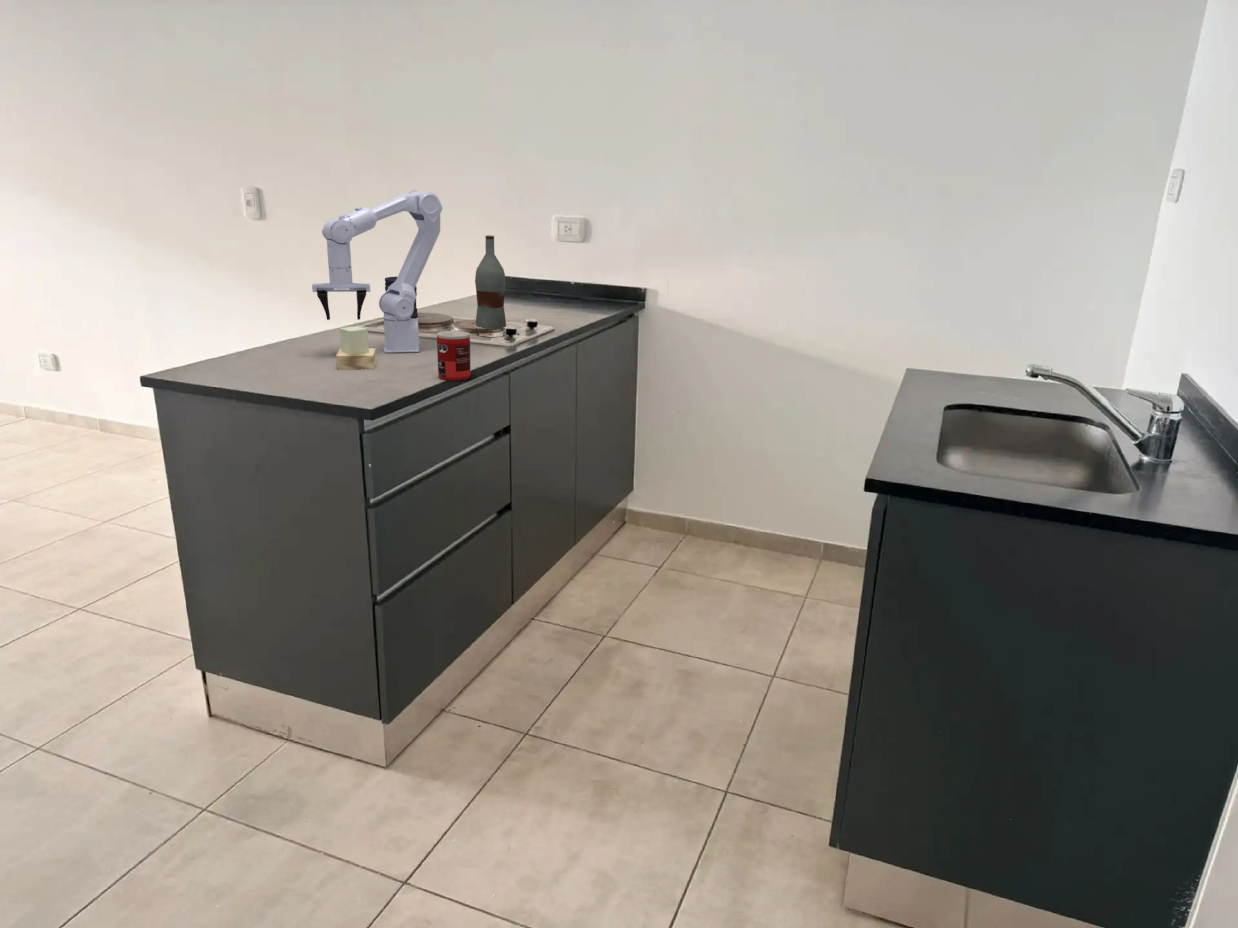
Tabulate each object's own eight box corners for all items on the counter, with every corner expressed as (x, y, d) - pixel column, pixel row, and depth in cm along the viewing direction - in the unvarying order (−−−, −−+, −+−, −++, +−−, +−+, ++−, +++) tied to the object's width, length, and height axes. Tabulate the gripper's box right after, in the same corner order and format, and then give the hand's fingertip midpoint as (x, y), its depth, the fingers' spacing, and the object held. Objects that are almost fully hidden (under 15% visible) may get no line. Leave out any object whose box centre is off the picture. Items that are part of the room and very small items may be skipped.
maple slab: (376, 363, 224) (375, 348, 222) (374, 371, 215) (373, 355, 214) (340, 363, 222) (339, 348, 221) (337, 371, 214) (335, 355, 212)
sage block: (358, 349, 221) (357, 326, 219) (369, 352, 217) (367, 329, 215) (341, 351, 217) (339, 328, 215) (351, 354, 214) (349, 331, 212)
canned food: (440, 373, 214) (438, 330, 210) (471, 374, 215) (471, 331, 211) (436, 380, 207) (434, 336, 203) (469, 381, 207) (468, 336, 204)
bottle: (486, 339, 258) (484, 237, 248) (470, 334, 264) (468, 234, 254) (511, 336, 264) (511, 236, 254) (495, 331, 270) (494, 234, 260)
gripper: (368, 265, 226) (371, 316, 231) (311, 265, 222) (315, 316, 227) (369, 268, 220) (372, 320, 225) (310, 268, 216) (314, 321, 221)
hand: (343, 319), depth 225 cm, fingers open, 7 cm apart
